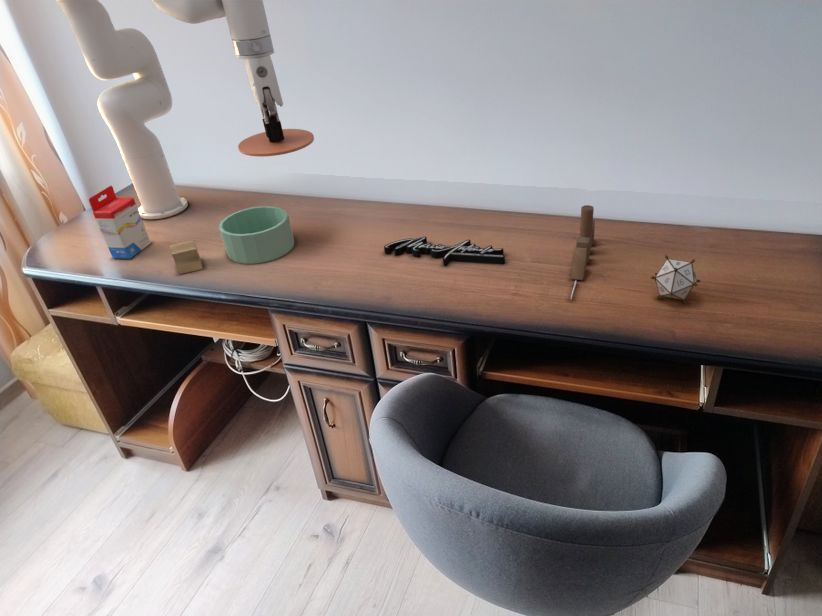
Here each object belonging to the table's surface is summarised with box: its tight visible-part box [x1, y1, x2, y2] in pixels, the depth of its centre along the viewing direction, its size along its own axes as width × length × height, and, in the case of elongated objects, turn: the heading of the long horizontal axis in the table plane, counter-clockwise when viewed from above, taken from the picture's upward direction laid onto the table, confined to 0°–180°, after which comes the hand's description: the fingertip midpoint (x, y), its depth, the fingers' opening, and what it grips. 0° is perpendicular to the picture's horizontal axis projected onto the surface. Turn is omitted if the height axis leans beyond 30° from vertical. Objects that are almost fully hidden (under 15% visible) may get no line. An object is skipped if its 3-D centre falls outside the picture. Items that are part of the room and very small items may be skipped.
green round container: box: [218, 205, 295, 265], centre depth 145 cm, size 15×15×7 cm
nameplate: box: [383, 236, 506, 267], centre depth 138 cm, size 28×2×10 cm
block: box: [170, 239, 204, 275], centre depth 140 cm, size 5×5×5 cm
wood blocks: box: [570, 204, 596, 300], centre depth 127 cm, size 25×3×10 cm, turn 164°
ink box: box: [88, 185, 152, 260], centre depth 146 cm, size 8×5×15 cm, turn 168°
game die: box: [650, 254, 701, 305], centre depth 117 cm, size 9×8×10 cm
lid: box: [237, 115, 315, 157], centre depth 136 cm, size 16×16×7 cm
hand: (275, 137), depth 137 cm, fingers closed on lid, 2 cm apart
